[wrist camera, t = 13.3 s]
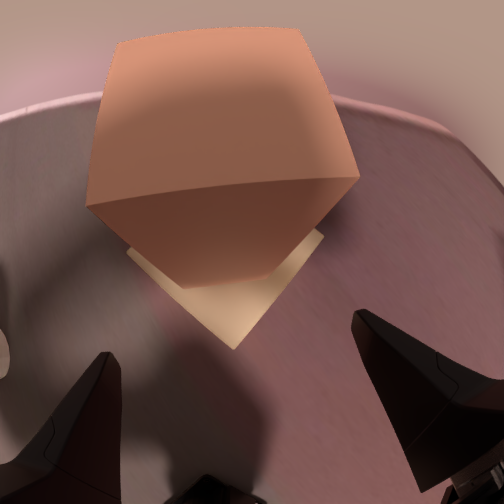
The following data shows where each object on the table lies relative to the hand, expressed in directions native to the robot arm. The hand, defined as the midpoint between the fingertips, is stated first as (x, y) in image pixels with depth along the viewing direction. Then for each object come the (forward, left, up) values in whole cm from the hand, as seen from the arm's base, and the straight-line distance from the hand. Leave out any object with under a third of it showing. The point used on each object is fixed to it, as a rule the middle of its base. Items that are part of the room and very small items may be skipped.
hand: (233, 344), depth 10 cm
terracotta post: (+4, +5, -8) cm, 11 cm away
